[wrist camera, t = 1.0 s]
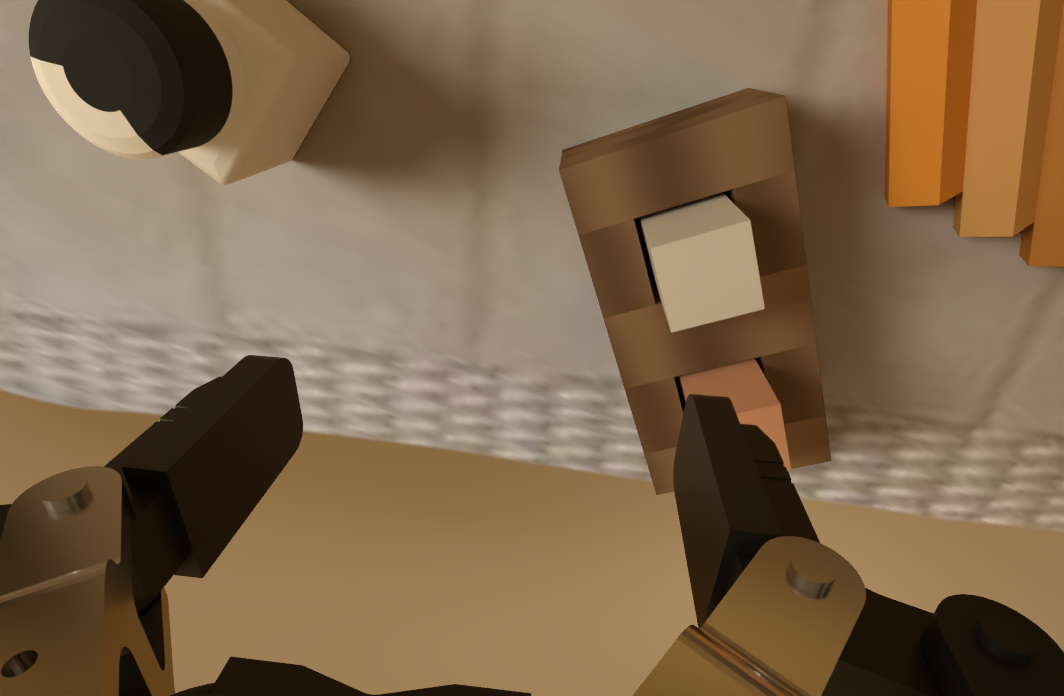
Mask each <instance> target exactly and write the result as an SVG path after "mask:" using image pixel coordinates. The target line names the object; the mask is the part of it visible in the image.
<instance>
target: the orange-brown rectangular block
mask: <svg viewBox="0 0 1064 696" xmlns="http://www.w3.org/2000/svg"><path fill="white" fill-rule="evenodd" d="M679 379H680V383H681V387H682V391H683V395H684V399H685V403H686V400H687V397H688V395H689V394H700V395H711V396H723V397H729V398H730V399H731V401H732V404H733V407H734V409H735V412H736V414H737V417H738V420H739V422H740V424H749V425H757V426H758V427H759V428H760V429H761V430H762V431H763V432H764V433H765V434H766V435H767V436H768V437H769V438H770V439H771V440H772V441H773V442H774V443H775V444H776V446H777V449H778V451H779V453H780V455H781V457H782V460H783V462H784V467H786V469H787V471H790V470H791V465H790V459H789V453H788V447H787V441H786V435H785V429H784V422H783V416H782V410H781V404H780V402H779V401H778V399H777V397H776V395H775V394H774V392H773V390H772V388H771V387H770V385H769V383H768V381H767V379H766V378H765V376H764V374H763V372H762V371H761V369H760V367H759V365H758V363H757V362H756V360H755V358H753V359H748V360H744V361H740V362H736V363H732V364H727V365H723V366H719V367H715V368H710V369H706V370H702V371H698V372H693V373H689V374H685V375H681V376H679Z"/></svg>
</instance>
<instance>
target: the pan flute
mask: <svg viewBox="0 0 1064 696" xmlns="http://www.w3.org/2000/svg"><path fill="white" fill-rule="evenodd" d="M954 196H955V207H954V221H953V228H954V229H955V231H956V232H957V234H958V235H959V237H1011V236H1014V235H1016V234H1017V233H1019V232H1020V231H1022V238H1021V246H1020V254H1019V255H1020V256H1021V257H1022V259H1023V260H1024V261H1025V262H1026V264H1027V265H1028V266H1056V267H1064V0H888V27H887V95H886V162H885V199H886V202H887V204H888V207H905V206H929V205H940V204H942V203H944V202H945V201H947V200H949V199H950V198H952V197H954Z"/></svg>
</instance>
